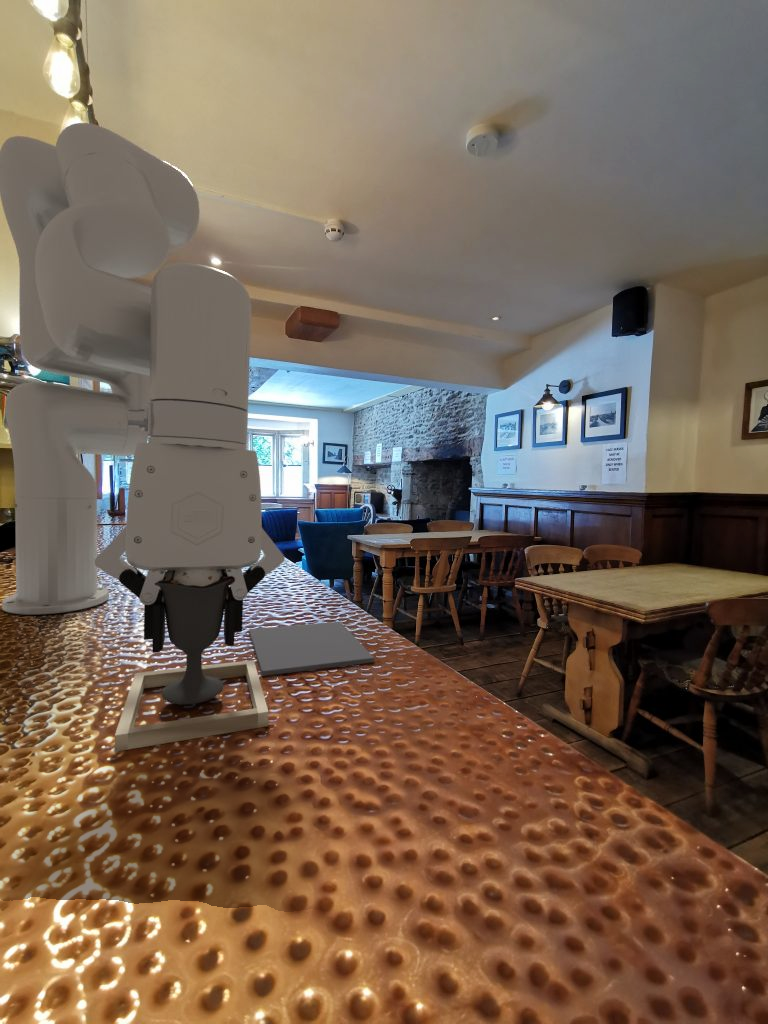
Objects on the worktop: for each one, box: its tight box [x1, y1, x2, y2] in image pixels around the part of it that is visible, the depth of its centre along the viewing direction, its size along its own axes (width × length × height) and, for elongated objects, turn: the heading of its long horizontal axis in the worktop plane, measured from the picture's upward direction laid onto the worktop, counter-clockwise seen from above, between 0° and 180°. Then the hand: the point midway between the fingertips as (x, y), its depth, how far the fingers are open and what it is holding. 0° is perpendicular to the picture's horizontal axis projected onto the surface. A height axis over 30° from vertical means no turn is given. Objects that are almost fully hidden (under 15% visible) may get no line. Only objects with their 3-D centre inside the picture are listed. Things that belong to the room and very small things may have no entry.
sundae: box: [155, 569, 235, 705], centre depth 38 cm, size 7×7×15 cm
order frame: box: [114, 659, 269, 753], centre depth 38 cm, size 11×11×1 cm
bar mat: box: [248, 621, 375, 677], centre depth 52 cm, size 13×12×1 cm
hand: (194, 641), depth 38 cm, fingers closed on sundae, 4 cm apart
